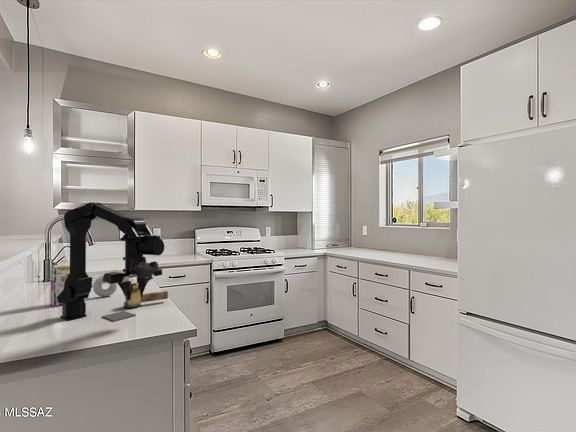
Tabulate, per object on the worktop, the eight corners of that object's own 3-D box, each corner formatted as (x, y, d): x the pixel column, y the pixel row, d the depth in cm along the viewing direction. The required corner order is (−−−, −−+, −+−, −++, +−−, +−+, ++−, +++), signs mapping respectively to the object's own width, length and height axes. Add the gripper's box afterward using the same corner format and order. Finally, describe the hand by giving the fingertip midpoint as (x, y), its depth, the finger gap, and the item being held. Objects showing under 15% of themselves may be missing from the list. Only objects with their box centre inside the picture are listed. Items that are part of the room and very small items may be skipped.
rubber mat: (113, 321, 117) (113, 320, 117) (101, 317, 122) (101, 316, 122) (136, 315, 124) (136, 314, 124) (123, 311, 129) (123, 310, 129)
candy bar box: (54, 307, 134) (54, 267, 134) (49, 305, 137) (49, 266, 137) (84, 301, 143) (84, 263, 143) (79, 299, 146) (79, 262, 146)
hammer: (125, 308, 131) (125, 297, 131) (122, 304, 137) (122, 294, 137) (169, 302, 142) (169, 291, 141) (164, 298, 147) (165, 288, 147)
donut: (93, 299, 147) (93, 276, 147) (92, 297, 150) (92, 275, 150) (118, 296, 153) (118, 274, 153) (117, 294, 156) (117, 273, 156)
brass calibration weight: (132, 305, 111) (132, 285, 111) (125, 303, 114) (125, 283, 114) (142, 303, 115) (142, 283, 115) (136, 301, 117) (136, 281, 117)
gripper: (120, 259, 102) (120, 309, 102) (171, 253, 117) (171, 296, 117) (102, 256, 108) (102, 303, 108) (153, 251, 124) (152, 292, 124)
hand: (134, 299), depth 114 cm, fingers closed on brass calibration weight, 4 cm apart
